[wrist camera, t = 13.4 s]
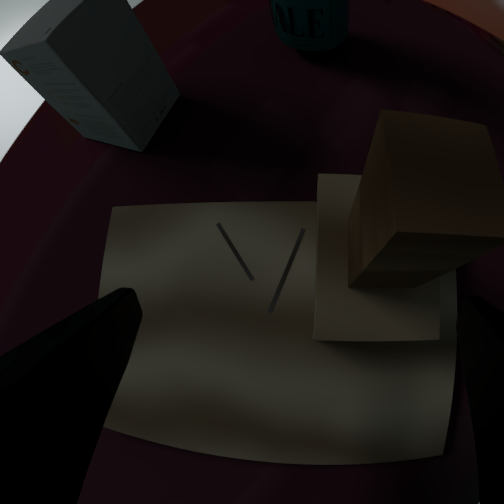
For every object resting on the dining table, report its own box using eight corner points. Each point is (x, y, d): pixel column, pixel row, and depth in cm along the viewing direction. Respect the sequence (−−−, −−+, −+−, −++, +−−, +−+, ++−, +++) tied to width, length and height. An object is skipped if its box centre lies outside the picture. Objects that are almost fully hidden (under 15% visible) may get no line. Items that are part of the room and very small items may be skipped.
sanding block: (419, 339, 15) (553, 336, 5) (312, 338, 16) (326, 351, 6) (414, 201, 17) (495, 75, 6) (316, 196, 18) (320, 48, 8)
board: (434, 447, 14) (442, 454, 13) (105, 419, 18) (93, 423, 17) (440, 215, 18) (449, 206, 16) (123, 214, 22) (112, 207, 20)
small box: (182, 94, 24) (116, -26, 11) (143, 154, 23) (43, 40, 10) (119, 87, 26) (51, -4, 14) (83, 138, 25) (-4, 54, 13)
